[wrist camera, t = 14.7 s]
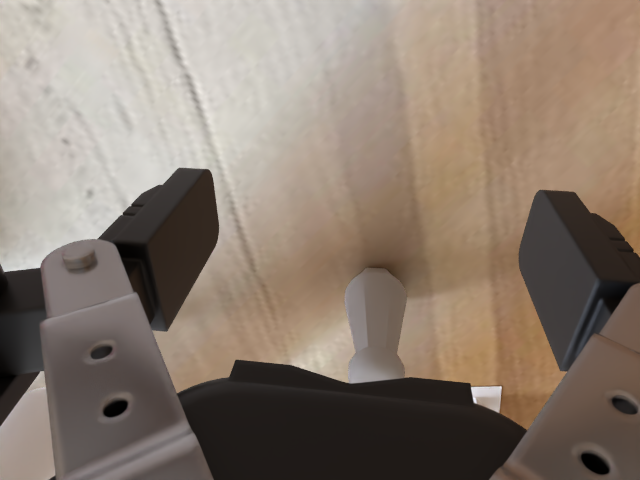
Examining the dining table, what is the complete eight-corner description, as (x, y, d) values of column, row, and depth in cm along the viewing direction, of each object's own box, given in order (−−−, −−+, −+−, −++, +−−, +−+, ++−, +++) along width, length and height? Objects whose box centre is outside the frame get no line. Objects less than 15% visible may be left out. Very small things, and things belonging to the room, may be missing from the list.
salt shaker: (383, 248, 43) (387, 346, 32) (416, 289, 45) (432, 394, 34) (333, 278, 46) (321, 379, 34) (367, 315, 48) (367, 423, 36)
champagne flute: (89, 290, 49) (-112, 524, 29) (151, 309, 50) (-2, 551, 29) (86, 334, 53) (-96, 572, 32) (144, 351, 53) (2, 596, 33)
